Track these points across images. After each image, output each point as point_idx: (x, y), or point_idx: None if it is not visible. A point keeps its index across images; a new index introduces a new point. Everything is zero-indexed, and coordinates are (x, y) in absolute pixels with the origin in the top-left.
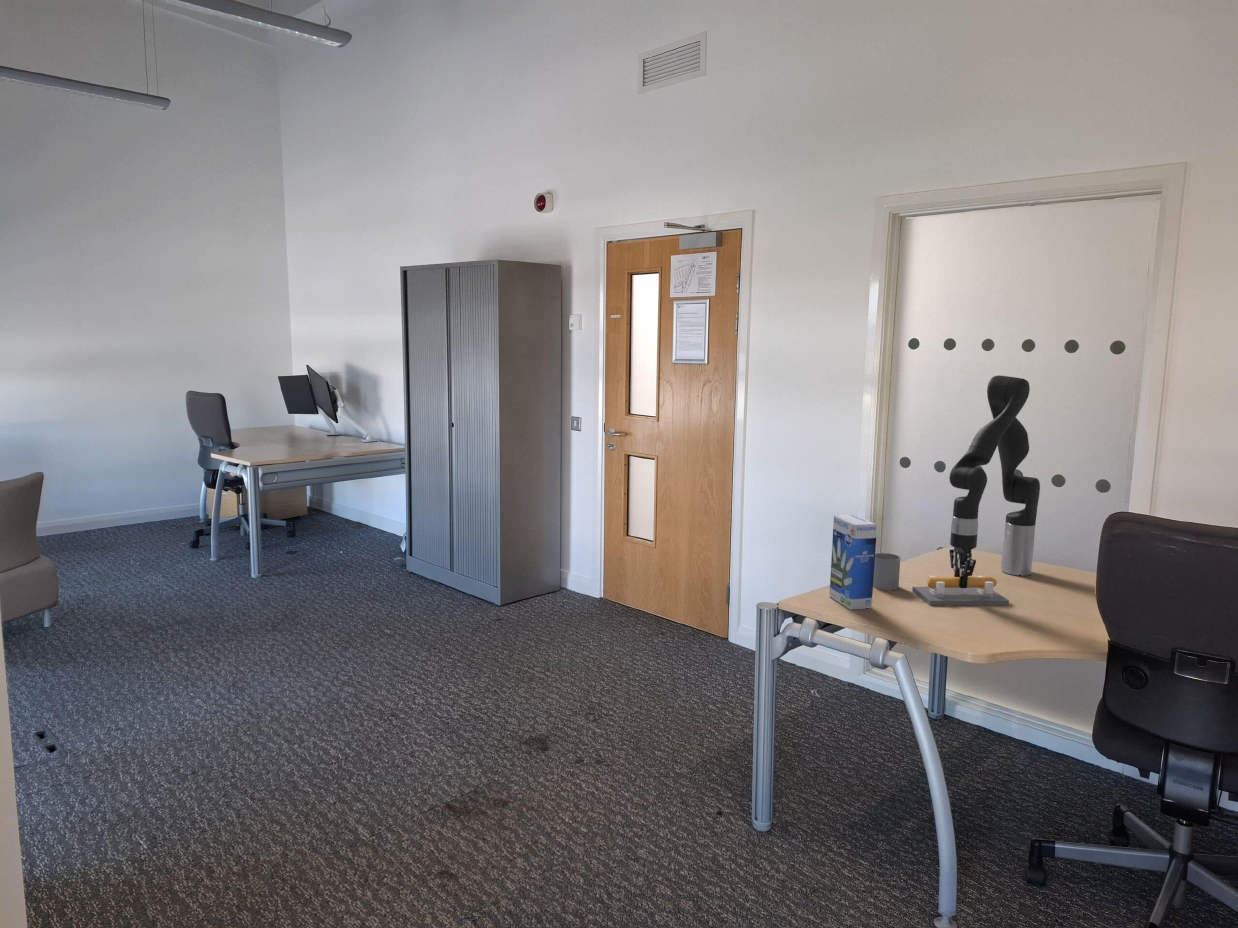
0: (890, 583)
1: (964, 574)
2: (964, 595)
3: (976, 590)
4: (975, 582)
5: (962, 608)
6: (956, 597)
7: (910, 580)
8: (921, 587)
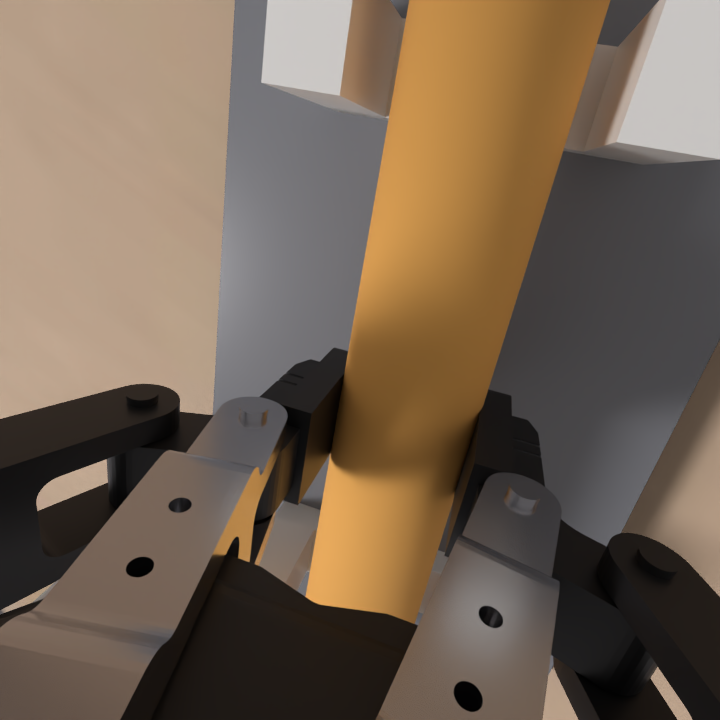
0: None
1: (640, 695)
2: (497, 367)
3: (379, 118)
4: (520, 282)
5: (701, 521)
6: None
7: (7, 407)
8: None
